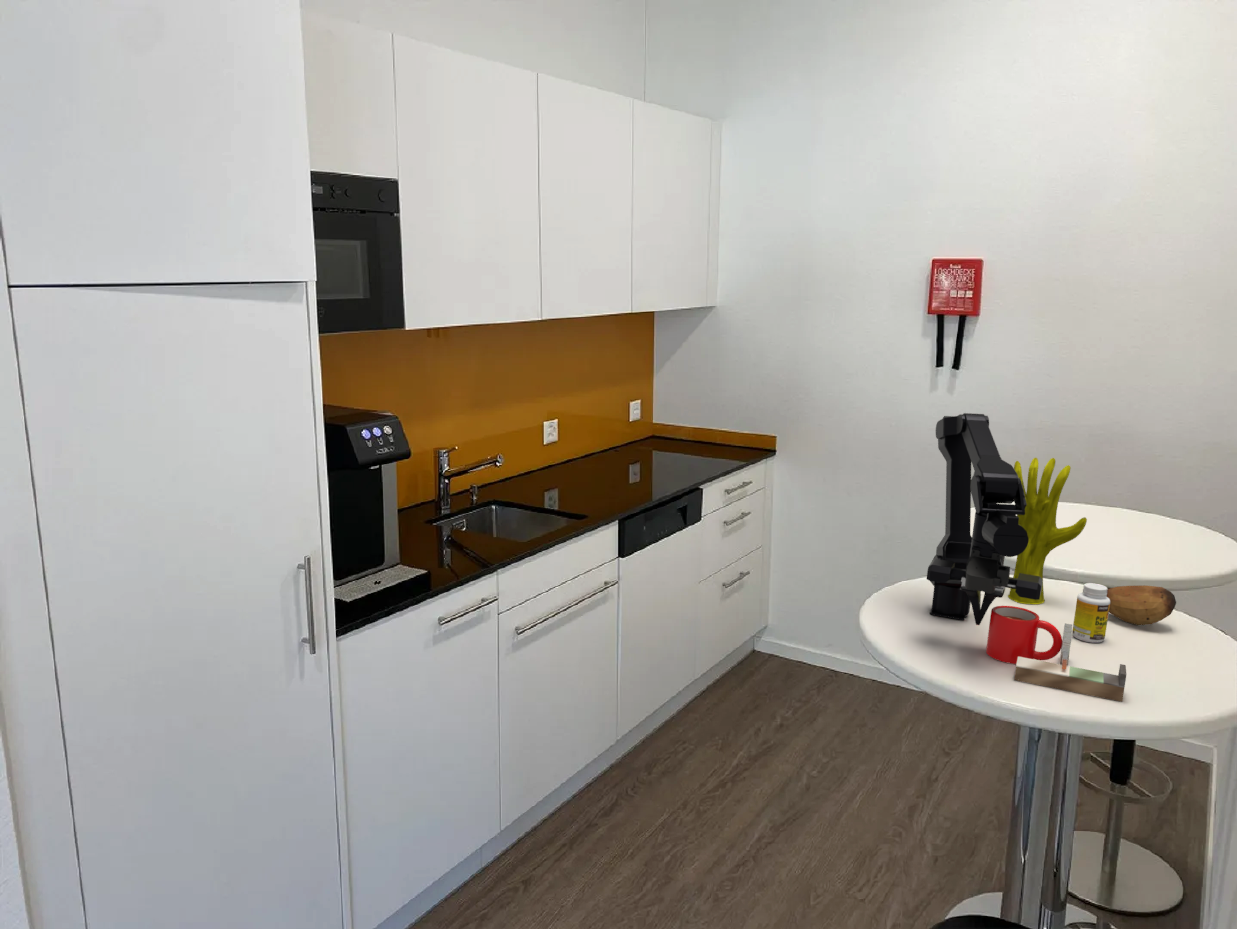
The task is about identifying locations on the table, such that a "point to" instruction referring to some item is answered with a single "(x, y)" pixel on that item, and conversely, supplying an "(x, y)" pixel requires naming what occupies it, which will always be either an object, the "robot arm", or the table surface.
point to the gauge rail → (1072, 678)
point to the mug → (1018, 635)
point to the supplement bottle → (1091, 613)
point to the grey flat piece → (1066, 645)
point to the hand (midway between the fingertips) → (978, 624)
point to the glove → (1041, 523)
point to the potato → (1140, 604)
